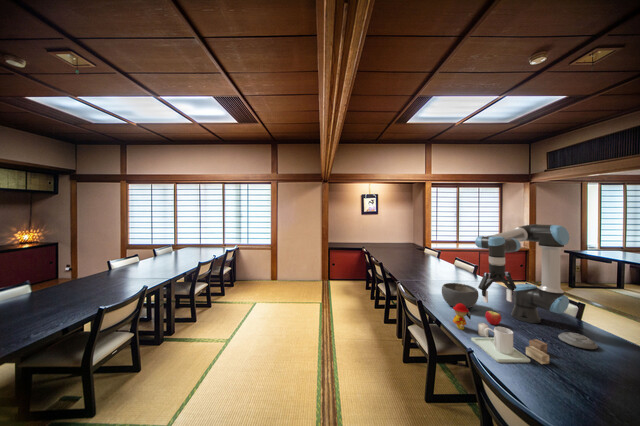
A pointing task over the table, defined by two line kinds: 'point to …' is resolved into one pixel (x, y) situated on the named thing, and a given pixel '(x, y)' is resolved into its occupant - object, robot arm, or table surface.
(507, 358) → the tray
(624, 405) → the table surface
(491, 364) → the table surface
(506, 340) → the mug
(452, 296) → the bowl
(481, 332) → the round-ended white cylinder
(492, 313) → the apple
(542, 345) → the walnut cube
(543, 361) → the maple block
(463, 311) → the toy
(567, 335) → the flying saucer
